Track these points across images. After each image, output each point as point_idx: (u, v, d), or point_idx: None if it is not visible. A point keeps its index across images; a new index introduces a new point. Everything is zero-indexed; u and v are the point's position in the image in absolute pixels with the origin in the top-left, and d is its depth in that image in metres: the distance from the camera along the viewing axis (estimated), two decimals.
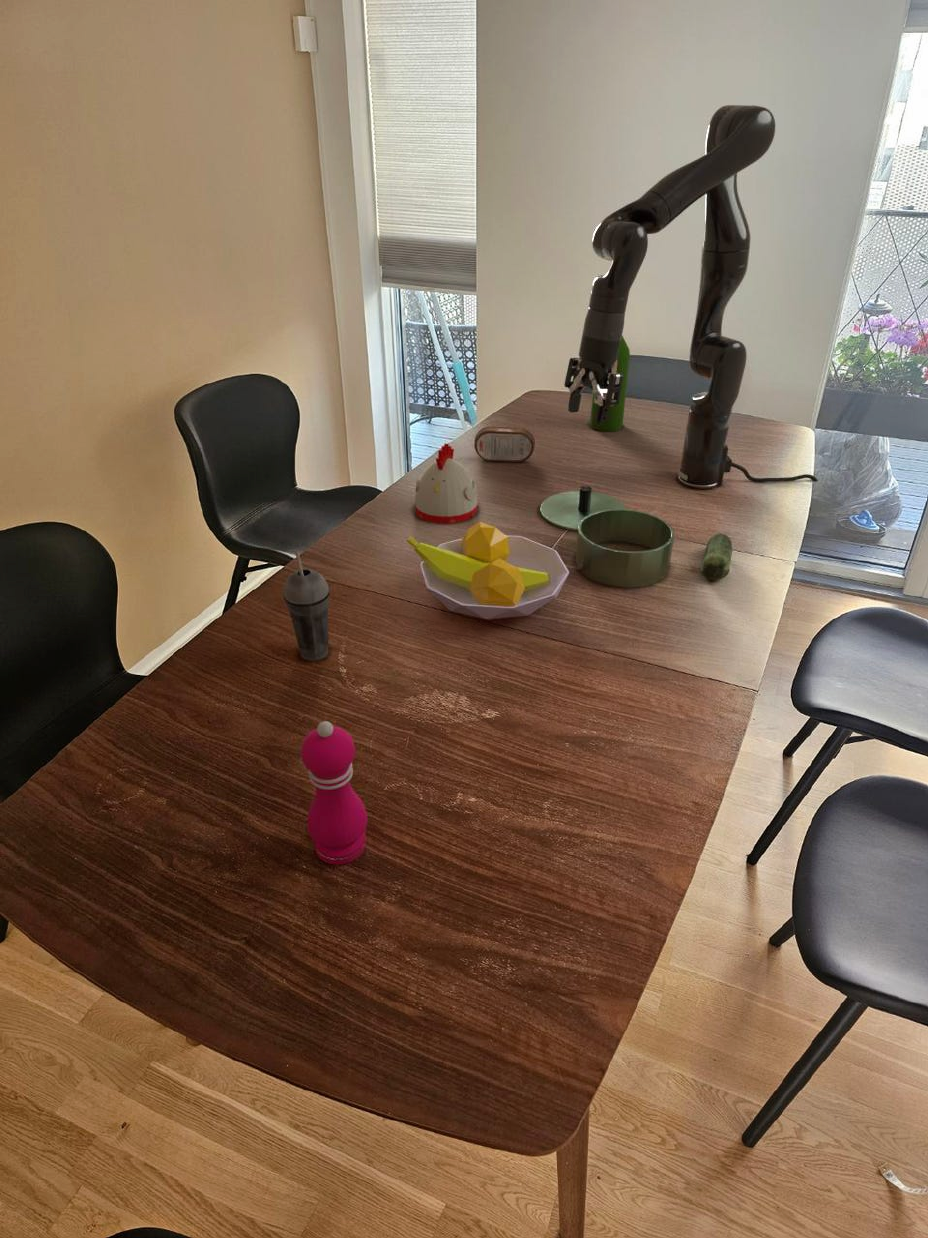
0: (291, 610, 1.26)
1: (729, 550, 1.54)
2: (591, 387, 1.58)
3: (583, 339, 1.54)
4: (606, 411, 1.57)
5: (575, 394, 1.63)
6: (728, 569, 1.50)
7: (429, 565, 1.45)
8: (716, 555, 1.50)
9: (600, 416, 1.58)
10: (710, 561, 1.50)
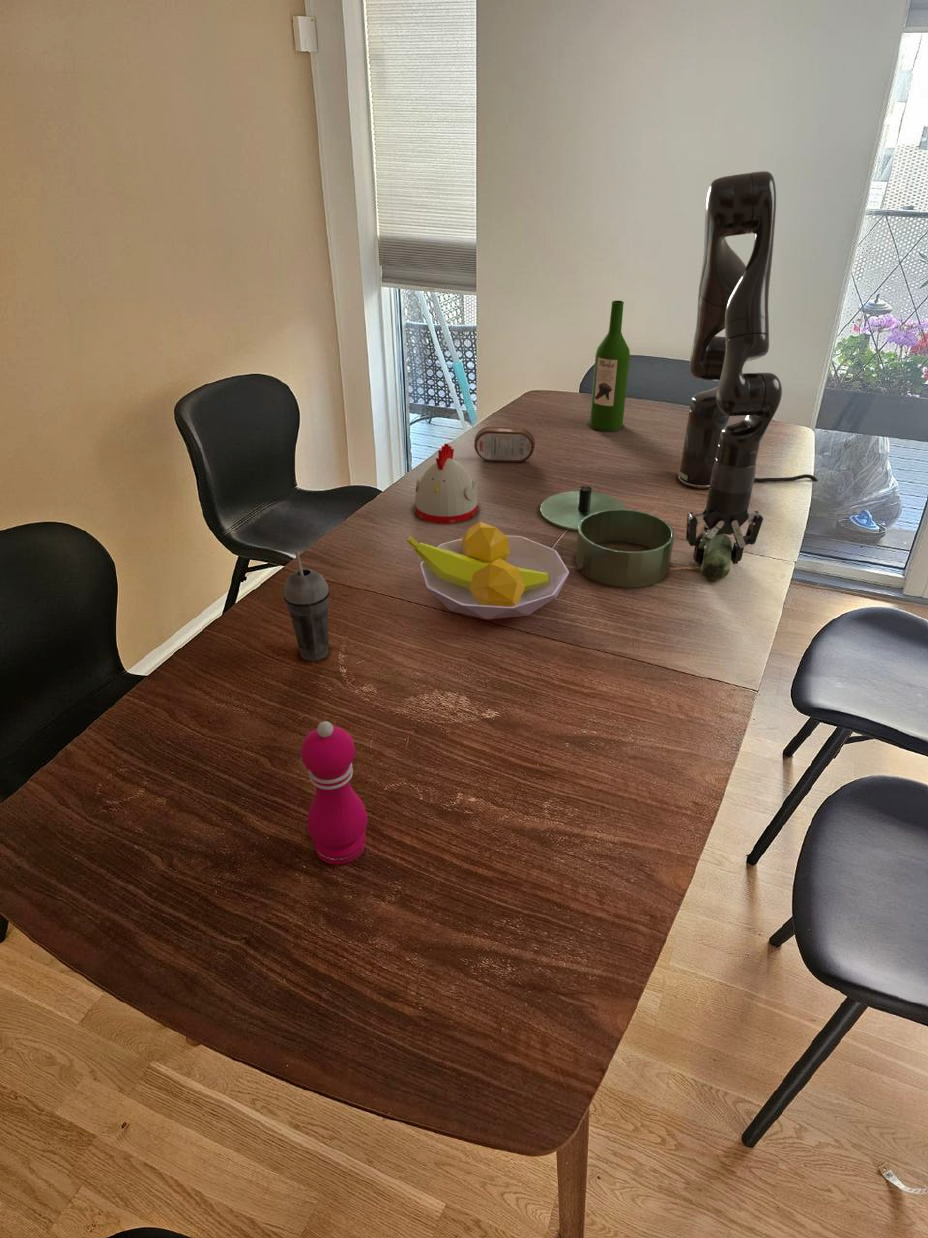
0: (291, 610, 1.26)
1: (729, 550, 1.54)
2: (729, 533, 1.51)
3: (731, 497, 1.44)
4: None
5: (703, 547, 1.54)
6: (728, 569, 1.50)
7: (429, 565, 1.45)
8: (716, 555, 1.50)
9: (739, 556, 1.55)
10: (710, 561, 1.50)
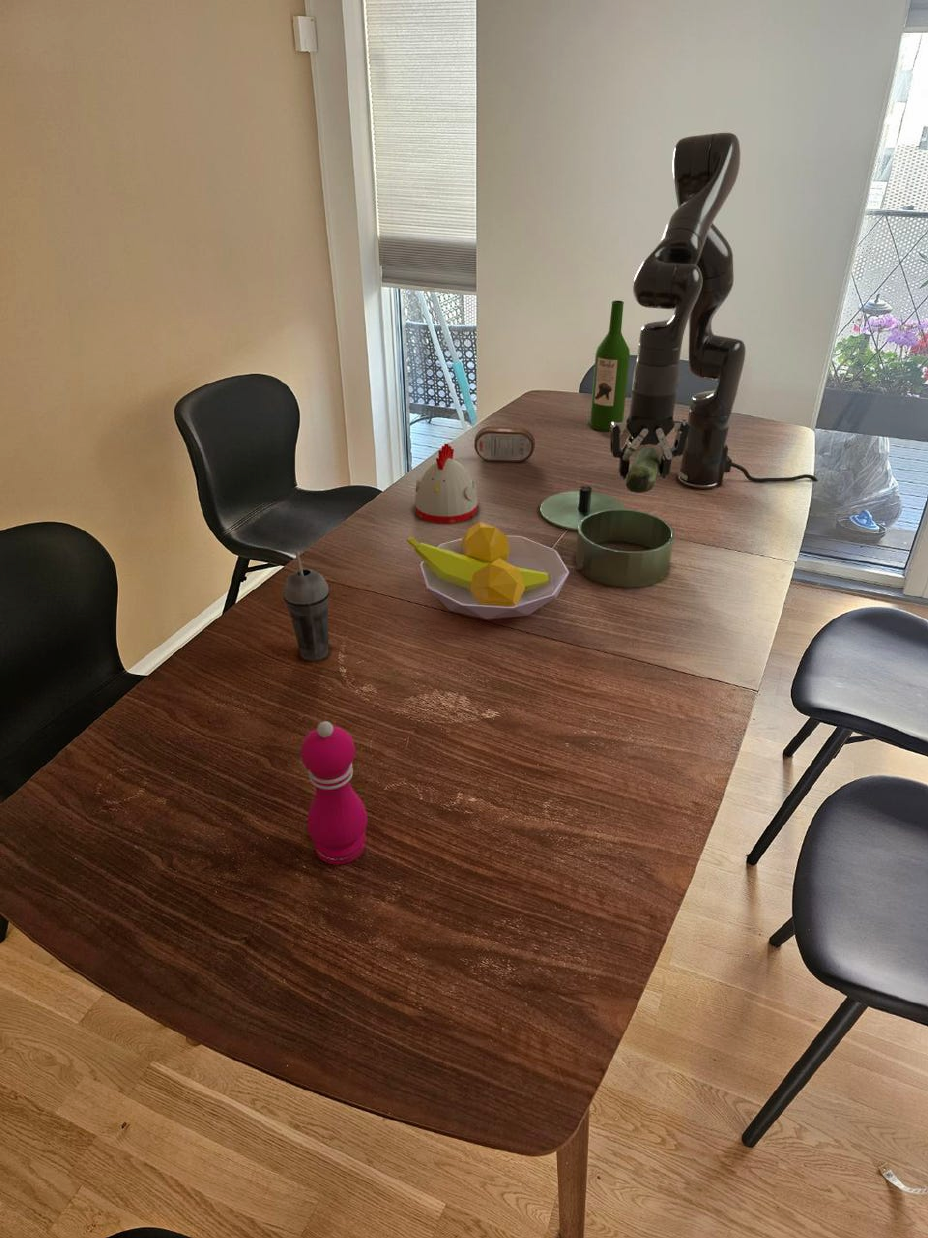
0: (291, 610, 1.26)
1: (656, 463, 1.45)
2: (654, 443, 1.43)
3: (653, 400, 1.36)
4: None
5: (628, 459, 1.45)
6: (653, 481, 1.42)
7: (429, 565, 1.45)
8: (641, 466, 1.42)
9: (667, 469, 1.46)
10: (634, 472, 1.41)
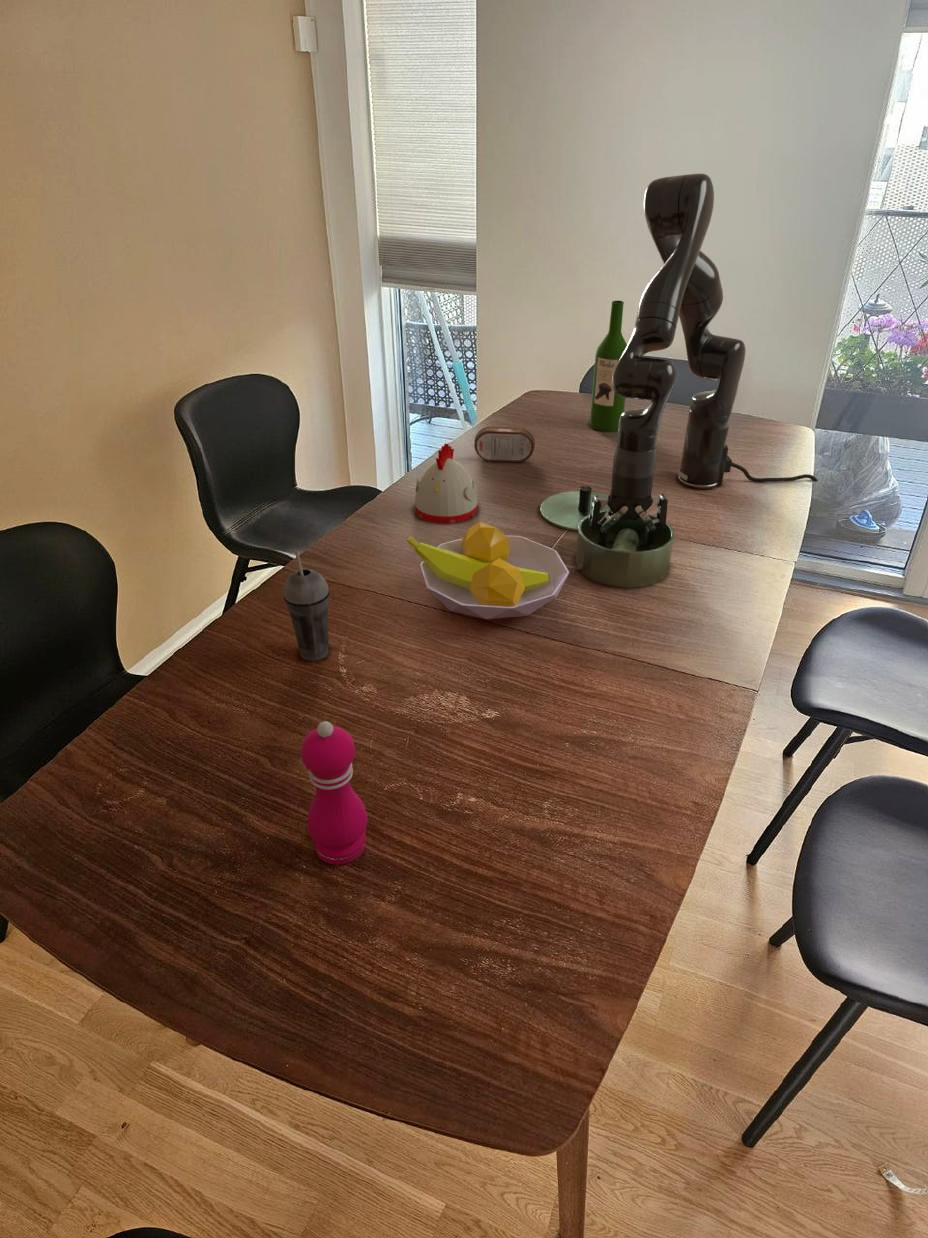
0: (291, 610, 1.26)
1: (634, 545, 1.55)
2: (634, 518, 1.51)
3: (632, 482, 1.44)
4: None
5: (606, 531, 1.53)
6: None
7: (429, 565, 1.45)
8: (619, 549, 1.51)
9: (651, 539, 1.54)
10: None
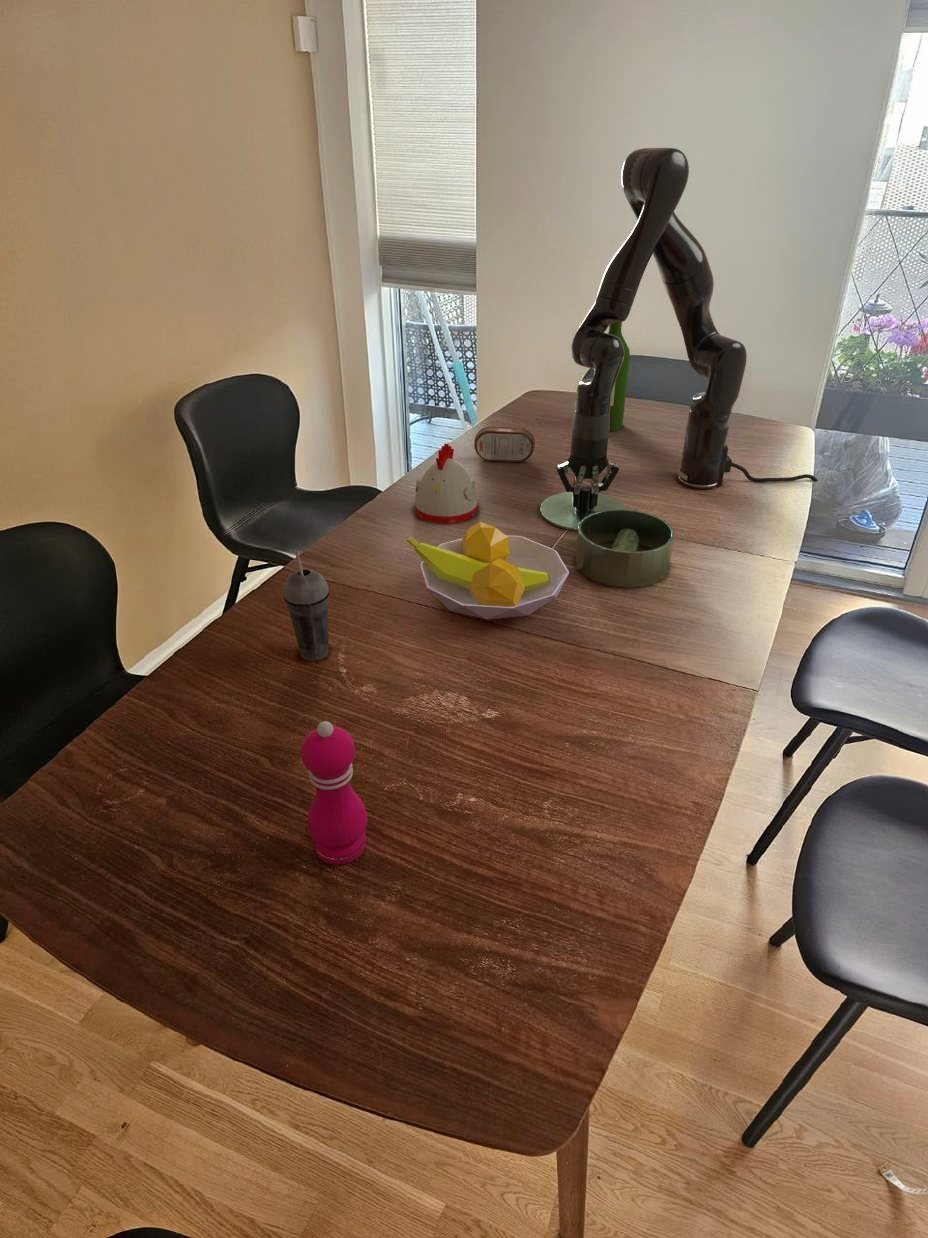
0: (291, 610, 1.26)
1: (634, 545, 1.55)
2: (592, 477, 1.70)
3: (588, 443, 1.63)
4: None
5: (579, 493, 1.73)
6: None
7: (429, 565, 1.45)
8: (619, 549, 1.51)
9: (595, 501, 1.74)
10: None
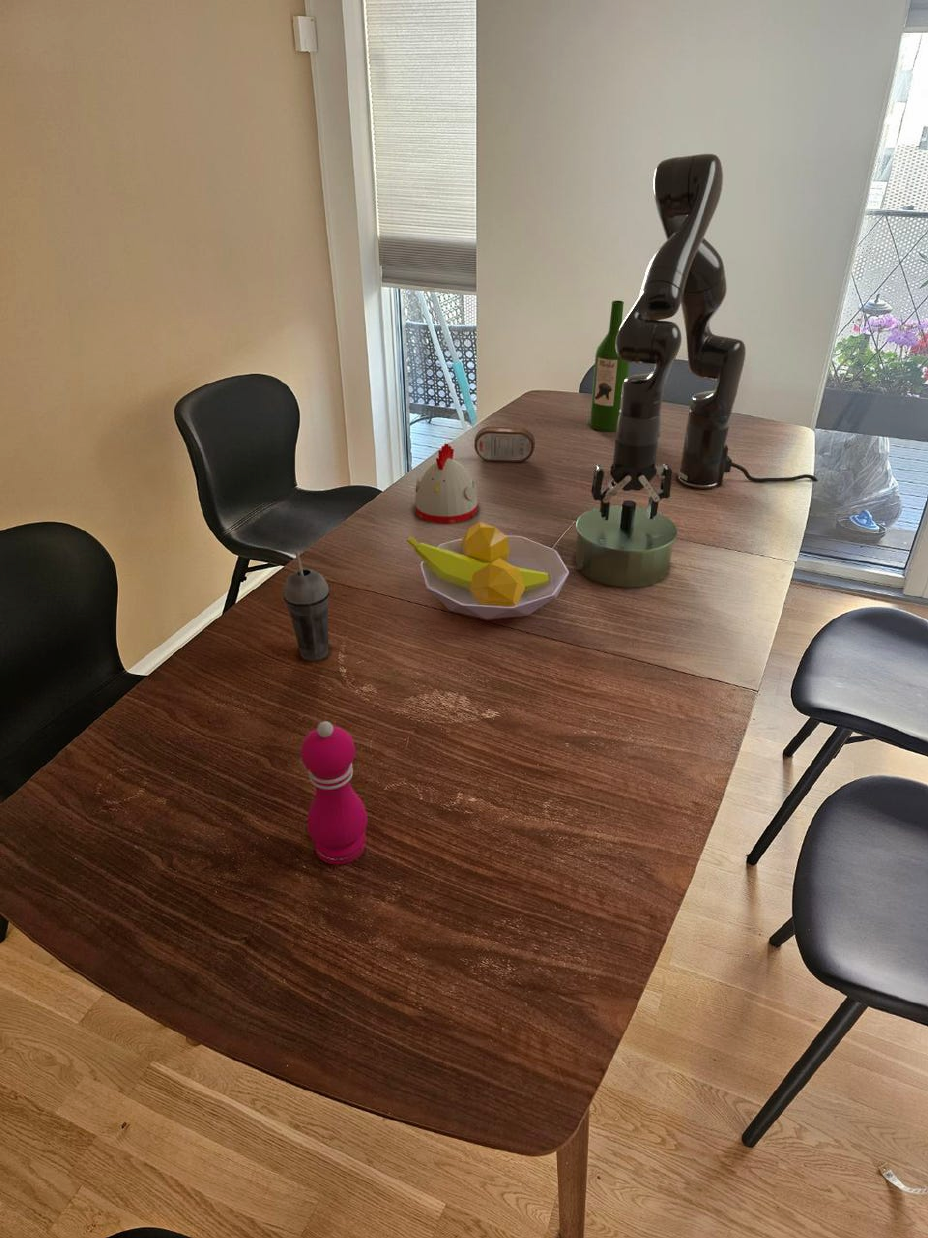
0: (291, 610, 1.26)
1: None
2: (637, 489, 1.48)
3: (635, 450, 1.41)
4: None
5: (609, 502, 1.50)
6: None
7: (429, 565, 1.45)
8: None
9: (655, 510, 1.51)
10: None
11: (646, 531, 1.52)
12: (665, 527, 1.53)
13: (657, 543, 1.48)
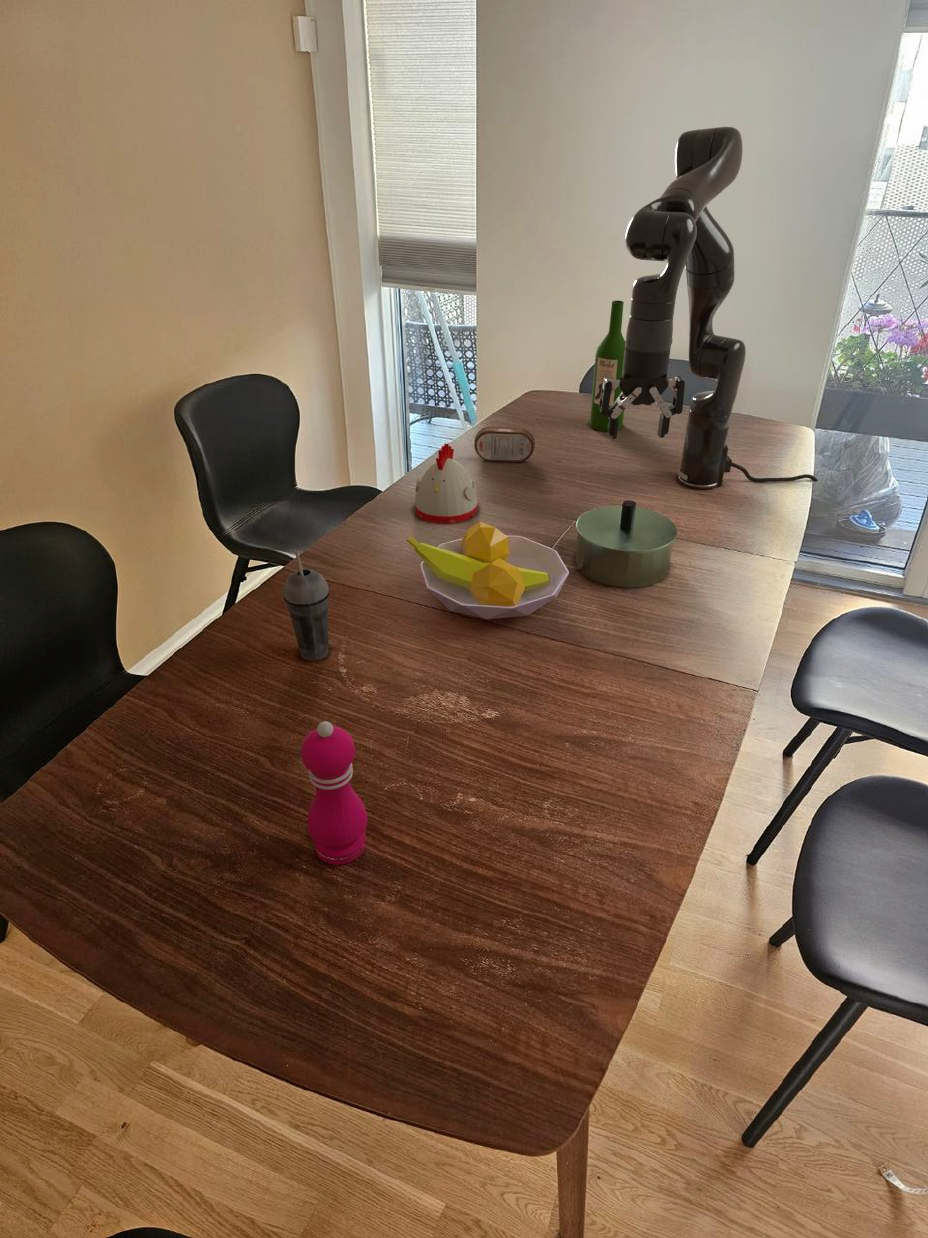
0: (291, 610, 1.26)
1: None
2: (648, 403, 1.39)
3: (646, 356, 1.32)
4: None
5: (617, 418, 1.41)
6: None
7: (429, 565, 1.45)
8: None
9: (666, 428, 1.42)
10: None
11: (646, 531, 1.52)
12: (665, 527, 1.53)
13: (657, 543, 1.48)
